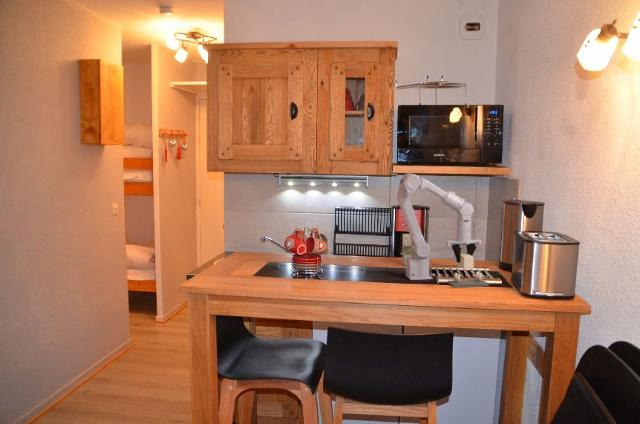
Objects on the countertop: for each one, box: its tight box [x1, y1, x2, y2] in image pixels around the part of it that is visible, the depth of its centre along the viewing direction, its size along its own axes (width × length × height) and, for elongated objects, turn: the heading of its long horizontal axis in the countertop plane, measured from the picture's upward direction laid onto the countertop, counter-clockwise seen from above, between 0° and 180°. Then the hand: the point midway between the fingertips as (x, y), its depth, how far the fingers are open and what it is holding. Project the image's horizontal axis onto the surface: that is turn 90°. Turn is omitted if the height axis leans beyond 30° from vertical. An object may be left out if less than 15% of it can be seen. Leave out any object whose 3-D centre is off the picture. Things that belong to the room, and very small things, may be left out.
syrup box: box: [401, 233, 414, 267], centre depth 232 cm, size 6×6×14 cm
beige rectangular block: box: [453, 251, 475, 270], centre depth 208 cm, size 11×4×5 cm, turn 6°
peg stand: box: [447, 271, 490, 289], centre depth 196 cm, size 14×7×4 cm, turn 96°
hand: (463, 262), depth 208 cm, fingers closed on beige rectangular block, 4 cm apart
